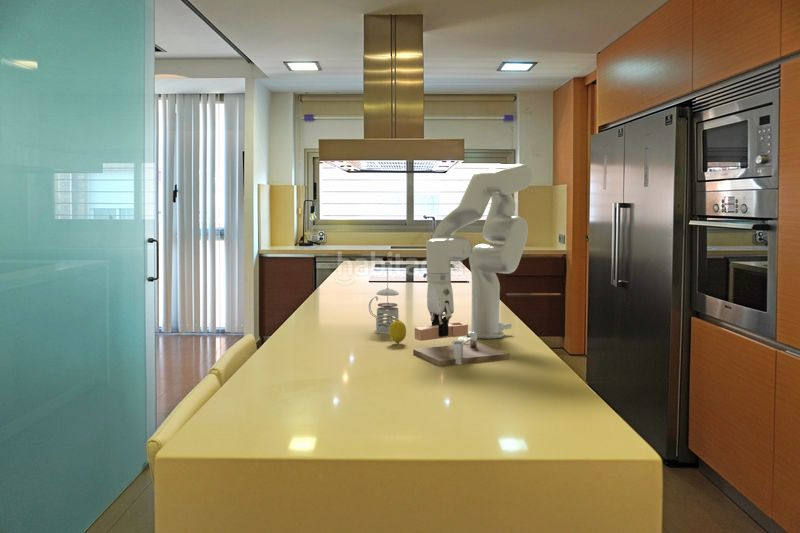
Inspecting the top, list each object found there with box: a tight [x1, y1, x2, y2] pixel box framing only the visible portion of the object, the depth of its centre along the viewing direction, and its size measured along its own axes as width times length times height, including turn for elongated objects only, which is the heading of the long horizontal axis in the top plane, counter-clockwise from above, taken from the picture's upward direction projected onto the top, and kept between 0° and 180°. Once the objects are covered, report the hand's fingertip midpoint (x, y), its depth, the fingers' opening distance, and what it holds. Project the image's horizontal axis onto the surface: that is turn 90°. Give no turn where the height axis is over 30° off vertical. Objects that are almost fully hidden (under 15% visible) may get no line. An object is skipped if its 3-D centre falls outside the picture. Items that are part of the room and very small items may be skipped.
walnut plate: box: [412, 342, 510, 367], centre depth 204 cm, size 23×17×2 cm
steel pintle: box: [469, 332, 478, 348], centre depth 210 cm, size 2×2×4 cm
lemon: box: [388, 318, 407, 345], centre depth 222 cm, size 6×6×8 cm
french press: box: [368, 261, 400, 335], centre depth 243 cm, size 10×12×25 cm
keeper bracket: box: [451, 336, 471, 366], centre depth 197 cm, size 8×4×6 cm, turn 159°
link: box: [414, 321, 469, 342], centre depth 219 cm, size 17×5×4 cm, turn 114°
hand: (440, 334), depth 219 cm, fingers closed on link, 4 cm apart
